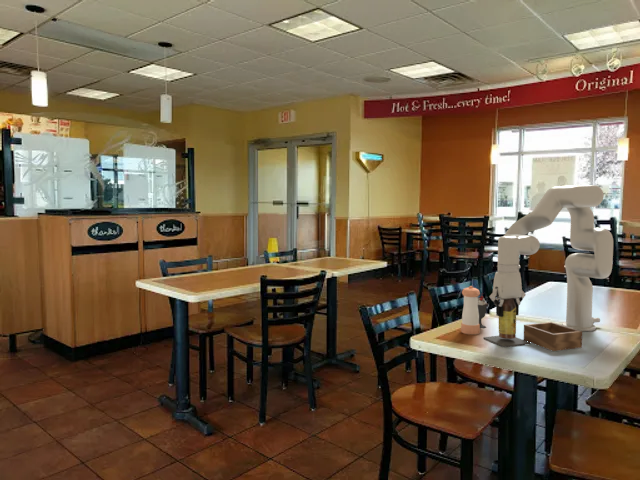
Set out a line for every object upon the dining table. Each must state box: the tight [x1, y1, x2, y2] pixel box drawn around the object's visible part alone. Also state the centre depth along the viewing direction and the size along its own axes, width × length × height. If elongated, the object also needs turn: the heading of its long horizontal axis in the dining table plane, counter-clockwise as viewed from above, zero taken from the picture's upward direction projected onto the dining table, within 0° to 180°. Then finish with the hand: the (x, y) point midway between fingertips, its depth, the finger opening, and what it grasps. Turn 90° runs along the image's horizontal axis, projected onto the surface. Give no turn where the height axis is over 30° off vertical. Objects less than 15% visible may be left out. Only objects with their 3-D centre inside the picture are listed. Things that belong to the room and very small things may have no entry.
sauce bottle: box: [498, 298, 517, 339], centre depth 183 cm, size 7×6×20 cm
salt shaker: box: [460, 285, 481, 335], centre depth 197 cm, size 7×7×19 cm
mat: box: [482, 335, 532, 348], centre depth 184 cm, size 12×12×1 cm
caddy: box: [523, 321, 583, 352], centre depth 180 cm, size 13×15×6 cm
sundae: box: [478, 292, 489, 329], centre depth 205 cm, size 7×7×15 cm
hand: (507, 315), depth 183 cm, fingers closed on sauce bottle, 6 cm apart
